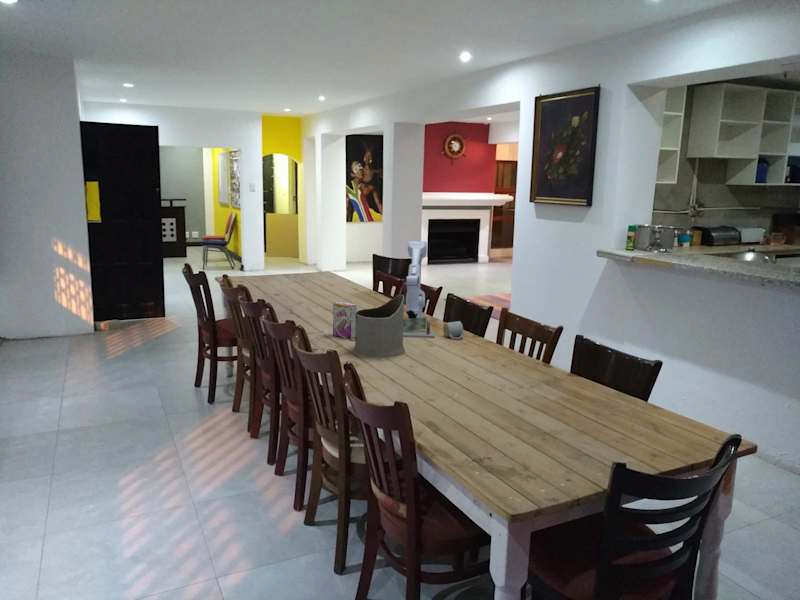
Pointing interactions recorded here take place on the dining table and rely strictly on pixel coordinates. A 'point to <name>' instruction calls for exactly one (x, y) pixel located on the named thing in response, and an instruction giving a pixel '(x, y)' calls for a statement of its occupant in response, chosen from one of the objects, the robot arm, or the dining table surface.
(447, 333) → the ceramic mug
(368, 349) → the pitcher
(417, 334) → the gate base
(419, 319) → the gate
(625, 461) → the dining table surface
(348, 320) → the candy bar box
